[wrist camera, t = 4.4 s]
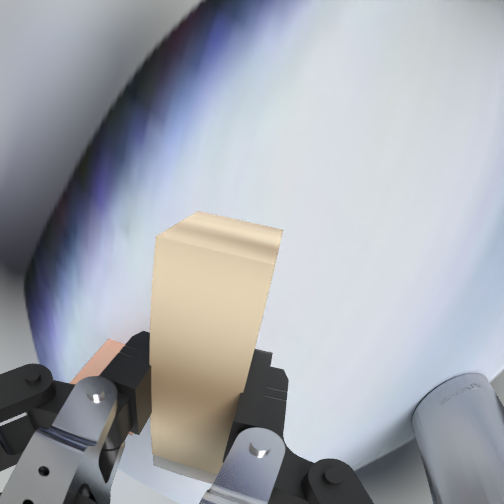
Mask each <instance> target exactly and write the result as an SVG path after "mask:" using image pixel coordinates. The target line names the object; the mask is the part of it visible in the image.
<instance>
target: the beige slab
mask: <svg viewBox="0 0 504 504" xmlns="http://www.w3.org/2000/svg"><path fill="white" fill-rule="evenodd" d="M282 233H283V230H280V229H276V228H272V227H267V226H263V225H259V224H254V223H250V222H245V221H241V220H236V219H232V218H227V217H223V216H218V215H214V214H209V213H204V212H200V211H198V212H196V213H194V214H193V215H191V216H189V217H187V218H186V219H184V220H182V221H181V222H179V223H177V224H176V225H174V226H172V227H171V228H169V229H167V230H166V231H164V232H162V233H161V234H159V235H157V236H156V243H155V254H154V266H153V280H152V297H151V318H150V362H149V365H151V396H152V413H151V415H150V420H151V440H152V454H153V461H154V466H157V467H160V468H163V469H166V470H169V471H171V472H174V473H178V474H181V475H184V476H187V477H190V478H194V479H197V480H201V481H204V482H208V483H212V484H213V482H214V481H215V479H216V477H217V475H218V473H219V471H220V469H221V467H222V465H223V462H222V461H223V457H224V453H225V449H226V446H227V442H228V438H229V434H230V431H231V427H232V423H233V419H234V416H235V412H236V409H237V405H238V401H239V398H240V394H241V392H242V393H243V391H244V388H245V384H246V380H247V376H248V372H249V368H250V365H251V361H252V357H253V353H254V349H255V345H256V341H257V337H258V333H259V329H260V325H261V321H262V317H263V313H264V309H265V305H266V301H267V297H268V293H269V288H270V284H271V280H272V276H273V272H274V267H275V263H276V259H277V255H278V250H279V246H280V242H281V237H282Z"/></svg>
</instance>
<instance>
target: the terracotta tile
mask: <svg viewBox="0 0 504 504" xmlns="http://www.w3.org/2000/svg"><path fill="white" fill-rule="evenodd" d="M124 346H125V345H124V344H122V343H119V342H116V341H113V340H111V339H108V340H107V341H106V342H105V343H104V344H103V346H102V347H101V348H100V349H99V350H98V351H97V352H96V353H95V355H94V356H93V357H92V358H91V359H90V360H89V361H88V363H87V364H86V365H85V366H84V367H83V368H82V370H81V371H80V372H79V373H78V374H77V375H76V377H75V378H74V379H73V380H72V381H71V382H70V384H77V383H78V382H79V381H80V380H81V379H83V378H86V377H90V376H99V375H100V374H101V372H102V371H103V370H104V369H105V368H106V367H107V365H108V364H109V363H110V362H111V361H112V359H113V358H114V357H115V356H116V355H117V354H118V353H119V352H120V350H121V349H122V348H123V347H124ZM128 434H130V435H133V433H132V432H129V433H128Z"/></svg>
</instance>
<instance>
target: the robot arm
mask: <svg viewBox="0 0 504 504" xmlns="http://www.w3.org/2000/svg"><path fill="white" fill-rule="evenodd" d="M271 359H272V353H271V352H266V351H262V350H258V349H254V353H253V357H252V361H251V365H250V368H249V372H248V376H247V380H246V384H245V388H244V391H243V393H242V392H241V394H240V398H239V401H238V405H237V409H236V412H235V416H234V419H233V423H232V427H231V431H230V434H229V438H228V442H227V446H226V449H225V453H224V457H223V461H222V462H223V465H222V467H221V469H220V471H219V473H218V475H217V477H216V479H215V481H214V482H213V484H212V486H211V488H210V489H209V490H207V491H206V493H205V494H204V496H203V497H202V499H201V501H200V503H199V504H374V503H373V502H372V500H371V498H370V497H369V495H368V494H367V492H366V490H365V489H364V487H363V485H362V484H361V482H360V481H359V479H358V477H357V476H356V474H355V472H354V471H353V469H352V468H351V467H350V466H349V465H347V464H346V463H344V462H342V461H340V460H337V459H322V460H319V461H317V462H316V463H313V462H310V461H308V460H306V459H303V458H301V457H299V456H297V455H296V454H294V453H293V452H292V451H290V450H289V448H288V447H287V446H286V444H285V442H284V438H283V430H284V421H285V411H286V400H287V391H288V378H287V376H286V374H285V372H284V370H283V369H279V368H274V367H270V365H271ZM149 362H150V333H148V332H145V331H142V332H140V333H138V334H136V335H134V336H132V337H131V339H130V340H129V341H128V342H127V343H126V344H125V346H124V347H123V348H122V349H121V350H120V352H119V353H118V354H117V355H116V356H115V357H114V358H113V359H112V361H111V362H110V363H109V364H108V365H107V367H106V368H105V369H104V370H103V371H102V372H101V374H100V375H99V376H90V377H86V378H83V379H81V380H80V381H79V382H78V383H77V384H69V383H64V382H60V381H55V380H53V377H52V373H51V372H50V370H49V369H48V368H46V367H45V366H43V365H40V364H27V365H24V366H21V367H19V368H16V369H14V370H11V371H8V372H5V373H3V374H0V423H1V422H3V421H5V420H8V419H10V418H13V417H15V416H18V415H20V414H22V413H24V412H26V414H27V415H26V416H24V417H21V418H19V419H17V420H14V421H12V422H10V423H7V424H5V425H2V426H0V471H2V470H5V469H7V468H9V467H11V466H14V465H16V464H17V465H16V467H15V469H14V470H13V472H12V474H11V476H10V478H9V480H8V482H7V484H6V486H5V488H4V490H3V492H2V493H0V504H110V491H111V486H112V483H113V480H114V477H115V474H116V471H117V468H118V465H119V462H120V459H121V456H122V453H123V450H124V447H125V439H126V437H127V435H128V433H129V432H132V433H135V434H137V435H139V434H140V432H141V431H142V429H143V427H144V425H145V424H146V422H147V420H148V418H149V416H150V415H151V413H152V396H151V365H149ZM412 427H413V430H414V433H415V437H416V440H417V443H418V447H419V450H420V454H421V458H422V461H423V465H424V469H425V472H426V476H427V480H428V484H429V487H430V492H431V496H432V500H433V504H504V406H503V404H502V403H501V401H500V399H499V397H498V396H497V394H496V393H495V391H494V389H493V388H492V386H491V385H490V383H489V381H488V380H487V378H486V377H484V376H483V375H481V374H478V373H469V374H463V375H460V376H457V377H455V378H452V379H450V380H448V381H446V382H445V383H443V384H442V385H440V386H438V387H437V388H436V389H434V390H433V391H432V392H431V393H429V394H428V395H427V396H426V397H425V398H424V399H423V400H422V402H421V403H420V404H419V406H418V407H417V408H416V410H415V412H414V414H413V418H412Z"/></svg>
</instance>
